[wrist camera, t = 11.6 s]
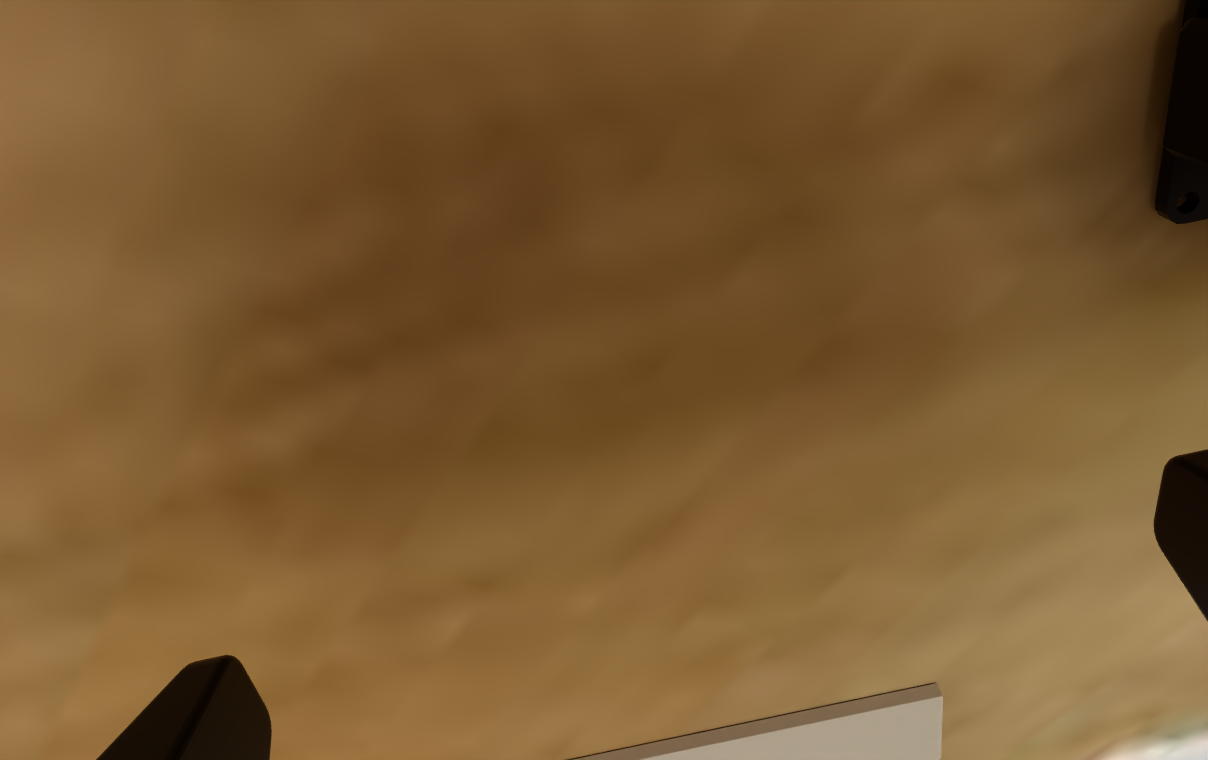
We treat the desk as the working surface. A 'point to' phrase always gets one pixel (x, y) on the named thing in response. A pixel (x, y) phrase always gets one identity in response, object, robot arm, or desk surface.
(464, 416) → the desk surface
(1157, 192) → the robot arm
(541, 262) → the desk surface
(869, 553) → the desk surface
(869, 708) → the socket plate
